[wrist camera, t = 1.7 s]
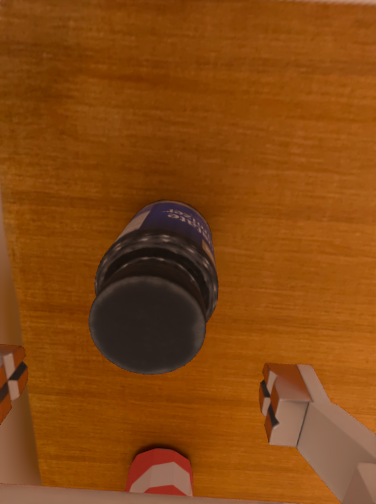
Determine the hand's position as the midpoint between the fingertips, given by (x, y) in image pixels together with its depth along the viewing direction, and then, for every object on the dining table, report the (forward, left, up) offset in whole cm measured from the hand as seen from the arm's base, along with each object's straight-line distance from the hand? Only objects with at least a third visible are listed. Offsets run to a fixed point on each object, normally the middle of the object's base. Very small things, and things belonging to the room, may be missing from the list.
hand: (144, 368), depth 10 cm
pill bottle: (0, 0, -13) cm, 13 cm away
